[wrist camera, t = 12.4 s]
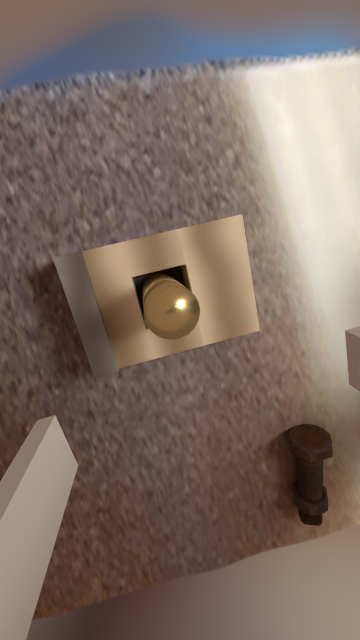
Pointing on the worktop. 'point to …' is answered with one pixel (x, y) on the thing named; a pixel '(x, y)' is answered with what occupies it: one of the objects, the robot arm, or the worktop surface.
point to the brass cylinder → (169, 307)
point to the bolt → (310, 470)
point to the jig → (149, 256)
